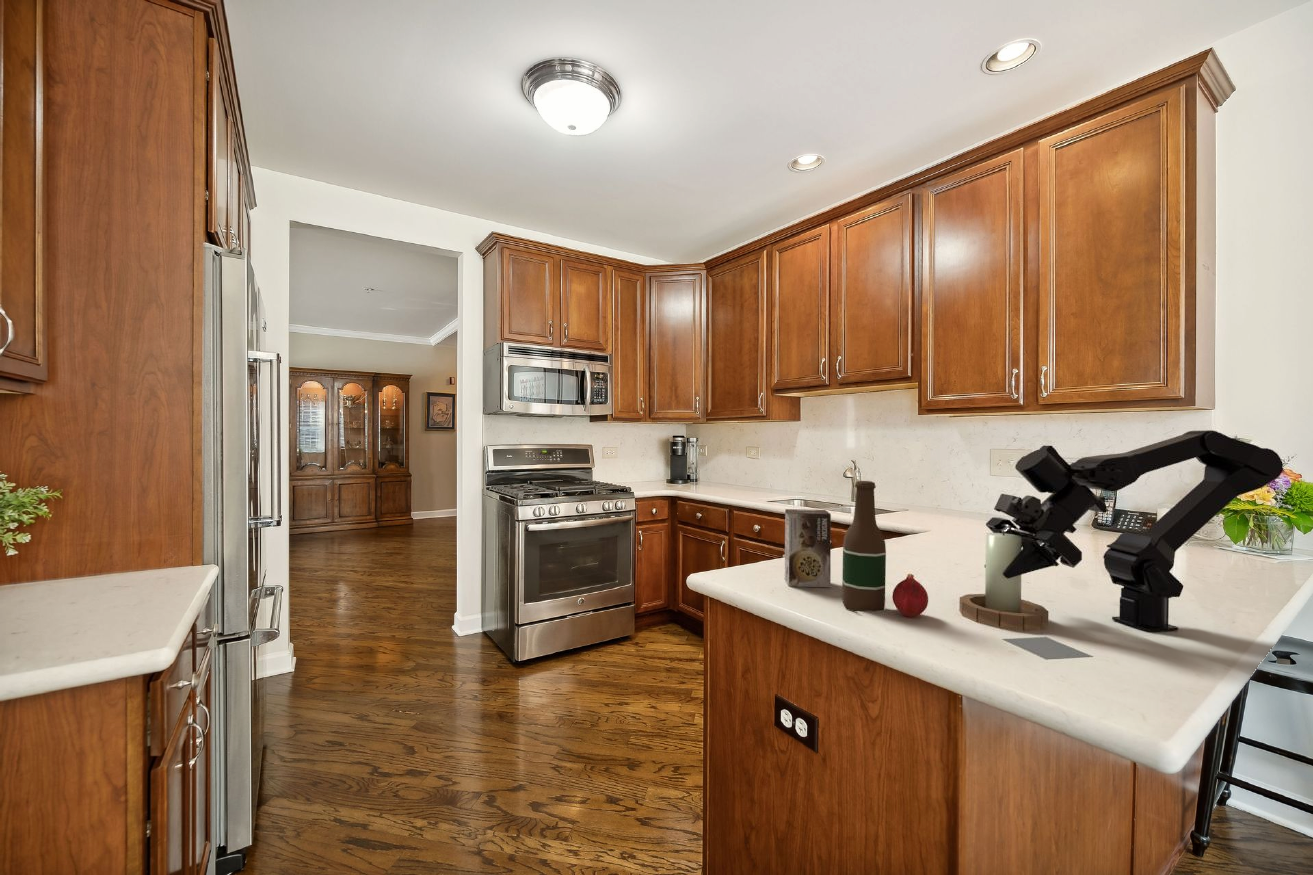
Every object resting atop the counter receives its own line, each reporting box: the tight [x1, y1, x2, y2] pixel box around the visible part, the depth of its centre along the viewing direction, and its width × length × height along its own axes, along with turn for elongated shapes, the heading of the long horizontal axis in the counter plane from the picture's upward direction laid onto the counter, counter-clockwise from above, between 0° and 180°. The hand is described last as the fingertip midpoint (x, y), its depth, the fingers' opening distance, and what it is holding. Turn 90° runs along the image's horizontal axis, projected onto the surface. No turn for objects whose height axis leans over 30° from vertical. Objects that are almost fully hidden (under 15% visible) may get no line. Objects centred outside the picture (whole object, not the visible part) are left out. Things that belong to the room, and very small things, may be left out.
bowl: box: [958, 593, 1049, 632], centre depth 98 cm, size 13×13×3 cm
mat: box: [1002, 636, 1094, 660], centre depth 84 cm, size 8×8×1 cm
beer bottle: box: [841, 480, 887, 612], centre depth 104 cm, size 8×8×24 cm
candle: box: [984, 531, 1023, 613], centre depth 98 cm, size 5×5×14 cm
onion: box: [892, 573, 929, 618], centre depth 98 cm, size 6×6×8 cm
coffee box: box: [784, 508, 832, 588], centre depth 121 cm, size 9×6×16 cm
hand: (995, 572), depth 98 cm, fingers closed on candle, 5 cm apart
